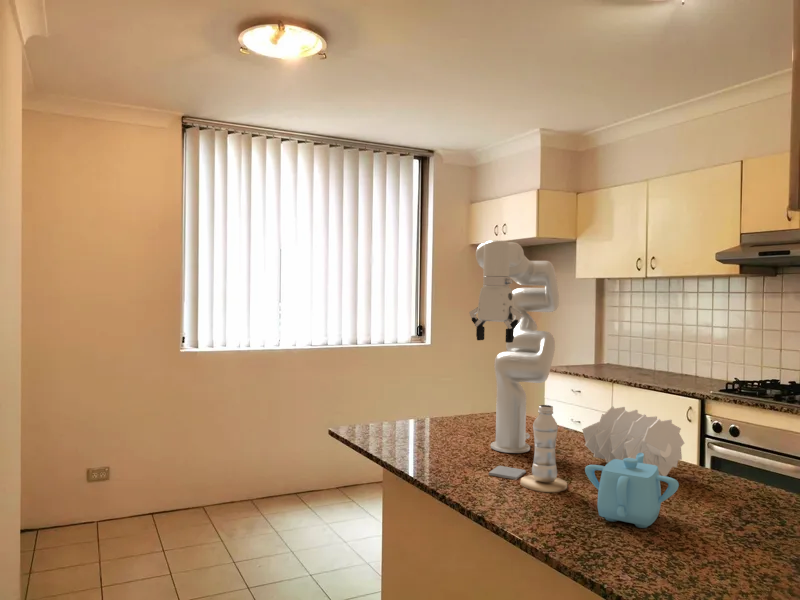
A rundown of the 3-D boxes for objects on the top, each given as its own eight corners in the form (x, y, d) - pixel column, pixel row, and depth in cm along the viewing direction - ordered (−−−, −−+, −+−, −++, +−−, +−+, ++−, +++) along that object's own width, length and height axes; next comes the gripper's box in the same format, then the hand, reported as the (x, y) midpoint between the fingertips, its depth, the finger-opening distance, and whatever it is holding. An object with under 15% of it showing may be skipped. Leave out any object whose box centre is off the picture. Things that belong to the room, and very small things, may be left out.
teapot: (684, 532, 130) (686, 469, 130) (612, 533, 128) (614, 470, 128) (640, 502, 148) (642, 447, 148) (576, 503, 146) (578, 448, 146)
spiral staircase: (614, 471, 187) (678, 493, 164) (572, 450, 182) (632, 469, 159) (634, 416, 191) (699, 430, 168) (592, 394, 185) (654, 405, 162)
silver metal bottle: (543, 486, 156) (545, 409, 155) (526, 479, 162) (528, 404, 161) (562, 483, 159) (564, 407, 158) (544, 476, 165) (546, 403, 164)
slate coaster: (498, 467, 175) (498, 465, 174) (525, 472, 171) (525, 470, 171) (488, 474, 168) (488, 472, 168) (516, 479, 164) (516, 477, 164)
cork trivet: (533, 475, 168) (533, 472, 168) (574, 484, 161) (574, 481, 161) (512, 485, 159) (512, 482, 159) (555, 495, 151) (555, 492, 151)
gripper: (528, 283, 175) (527, 342, 175) (477, 283, 186) (476, 338, 186) (516, 282, 169) (514, 344, 169) (464, 282, 180) (462, 339, 180)
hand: (494, 341), depth 178 cm, fingers open, 9 cm apart
